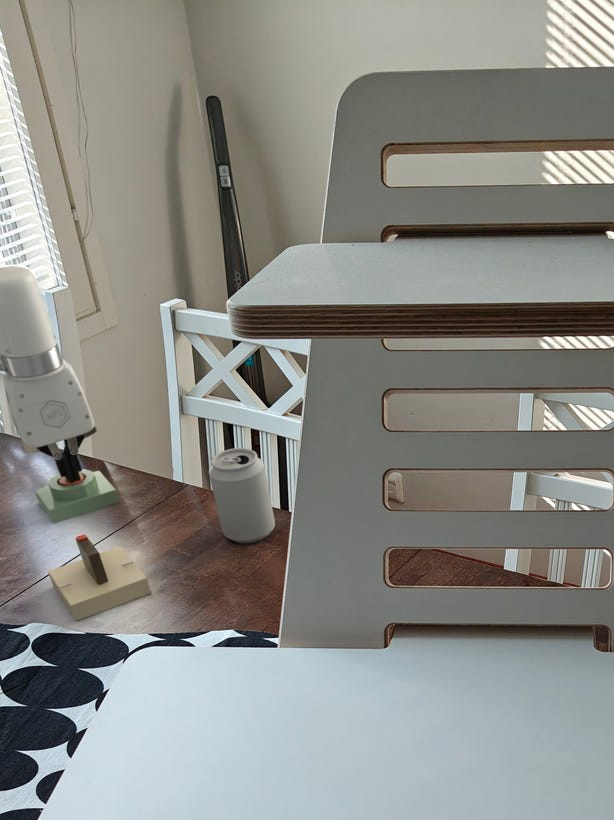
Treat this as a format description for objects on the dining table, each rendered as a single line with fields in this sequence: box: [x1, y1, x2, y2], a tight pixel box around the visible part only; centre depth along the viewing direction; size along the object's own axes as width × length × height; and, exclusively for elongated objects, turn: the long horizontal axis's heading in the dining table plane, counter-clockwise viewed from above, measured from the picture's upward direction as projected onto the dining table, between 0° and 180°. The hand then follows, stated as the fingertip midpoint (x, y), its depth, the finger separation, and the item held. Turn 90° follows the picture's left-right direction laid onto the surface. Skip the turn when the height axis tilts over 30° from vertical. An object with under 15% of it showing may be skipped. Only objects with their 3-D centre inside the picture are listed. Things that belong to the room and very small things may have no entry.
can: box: [208, 447, 276, 544], centre depth 137 cm, size 8×8×12 cm
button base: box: [34, 468, 120, 524], centre depth 149 cm, size 10×8×4 cm
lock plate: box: [47, 545, 152, 622], centre depth 130 cm, size 10×10×3 cm
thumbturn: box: [75, 533, 108, 585], centre depth 127 cm, size 6×1×5 cm, turn 35°
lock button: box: [59, 473, 85, 486], centre depth 148 cm, size 4×4×2 cm
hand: (72, 477), depth 147 cm, fingers closed
